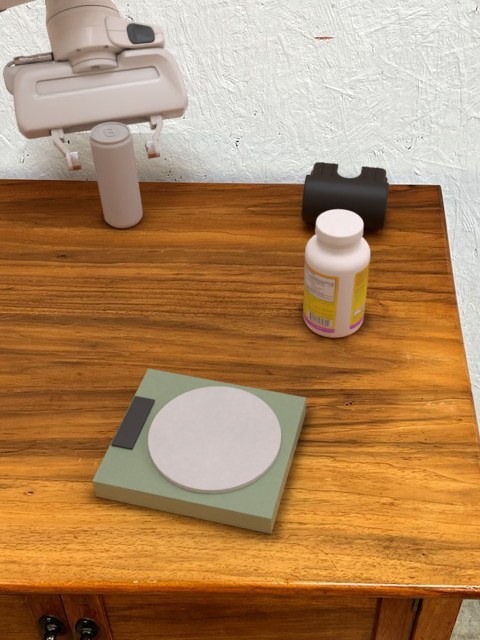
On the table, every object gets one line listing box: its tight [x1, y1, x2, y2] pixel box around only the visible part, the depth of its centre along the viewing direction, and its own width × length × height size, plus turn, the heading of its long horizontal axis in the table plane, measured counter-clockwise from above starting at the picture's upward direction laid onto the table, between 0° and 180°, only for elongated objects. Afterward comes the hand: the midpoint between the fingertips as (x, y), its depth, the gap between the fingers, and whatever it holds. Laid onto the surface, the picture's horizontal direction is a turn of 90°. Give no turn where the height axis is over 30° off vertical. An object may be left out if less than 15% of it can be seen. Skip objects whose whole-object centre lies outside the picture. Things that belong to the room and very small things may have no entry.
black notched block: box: [301, 161, 390, 231], centre depth 95 cm, size 10×7×7 cm
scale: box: [91, 368, 307, 535], centre depth 71 cm, size 16×14×3 cm
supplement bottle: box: [302, 209, 371, 339], centre depth 80 cm, size 7×7×13 cm
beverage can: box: [89, 122, 144, 229], centre depth 93 cm, size 5×5×12 cm
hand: (115, 163), depth 93 cm, fingers open, 8 cm apart
